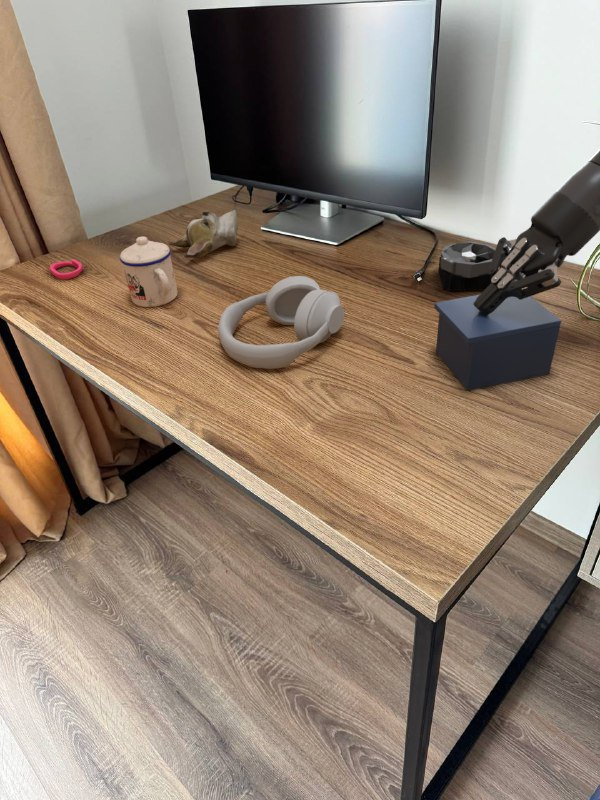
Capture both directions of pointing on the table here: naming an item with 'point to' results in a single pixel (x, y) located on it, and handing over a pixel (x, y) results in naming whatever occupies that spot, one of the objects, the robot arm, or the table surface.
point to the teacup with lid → (149, 273)
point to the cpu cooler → (466, 266)
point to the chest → (496, 356)
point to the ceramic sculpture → (208, 234)
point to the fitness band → (66, 275)
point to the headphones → (284, 322)
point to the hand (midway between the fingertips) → (479, 310)
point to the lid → (495, 318)
